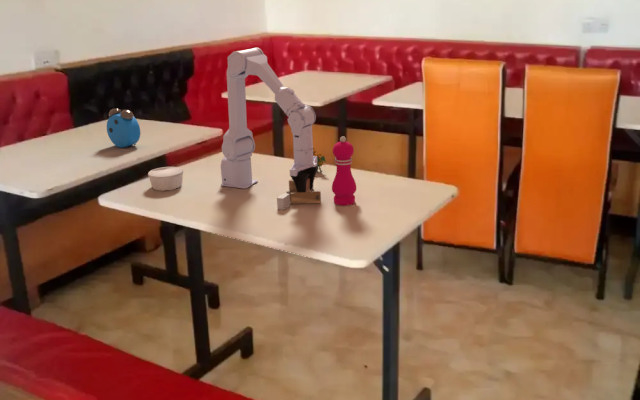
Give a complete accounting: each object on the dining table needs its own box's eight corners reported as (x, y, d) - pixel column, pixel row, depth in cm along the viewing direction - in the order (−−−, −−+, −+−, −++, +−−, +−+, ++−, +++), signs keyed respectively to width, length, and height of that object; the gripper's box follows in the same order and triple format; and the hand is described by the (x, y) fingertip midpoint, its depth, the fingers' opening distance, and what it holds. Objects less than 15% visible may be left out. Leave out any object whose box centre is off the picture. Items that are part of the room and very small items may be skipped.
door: (291, 202, 200) (290, 192, 199) (320, 201, 200) (320, 191, 199) (291, 204, 198) (290, 194, 197) (321, 203, 198) (320, 193, 197)
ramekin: (172, 179, 226) (170, 164, 225) (191, 186, 219) (190, 170, 217) (143, 187, 219) (141, 172, 217) (161, 194, 212) (159, 179, 210)
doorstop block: (289, 199, 203) (288, 180, 201) (295, 195, 207) (294, 176, 204) (304, 201, 201) (303, 182, 199) (310, 197, 204) (309, 178, 202)
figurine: (322, 175, 224) (321, 151, 222) (299, 167, 233) (297, 145, 230) (329, 172, 226) (328, 149, 223) (305, 165, 235) (304, 143, 232)
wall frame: (277, 209, 196) (276, 196, 194) (307, 187, 213) (307, 176, 211) (283, 209, 195) (282, 197, 194) (313, 188, 212) (313, 176, 211)
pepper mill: (349, 207, 195) (347, 140, 188) (327, 203, 198) (325, 138, 191) (361, 200, 200) (360, 134, 194) (340, 196, 204) (338, 132, 197)
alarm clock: (142, 146, 267) (138, 109, 262) (131, 150, 262) (125, 112, 257) (120, 142, 274) (115, 106, 268) (108, 146, 269) (102, 109, 264)
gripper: (304, 156, 190) (306, 201, 195) (325, 143, 202) (327, 186, 207) (282, 154, 193) (284, 198, 197) (304, 141, 205) (306, 183, 210)
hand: (305, 192), depth 202 cm, fingers closed on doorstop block, 4 cm apart
